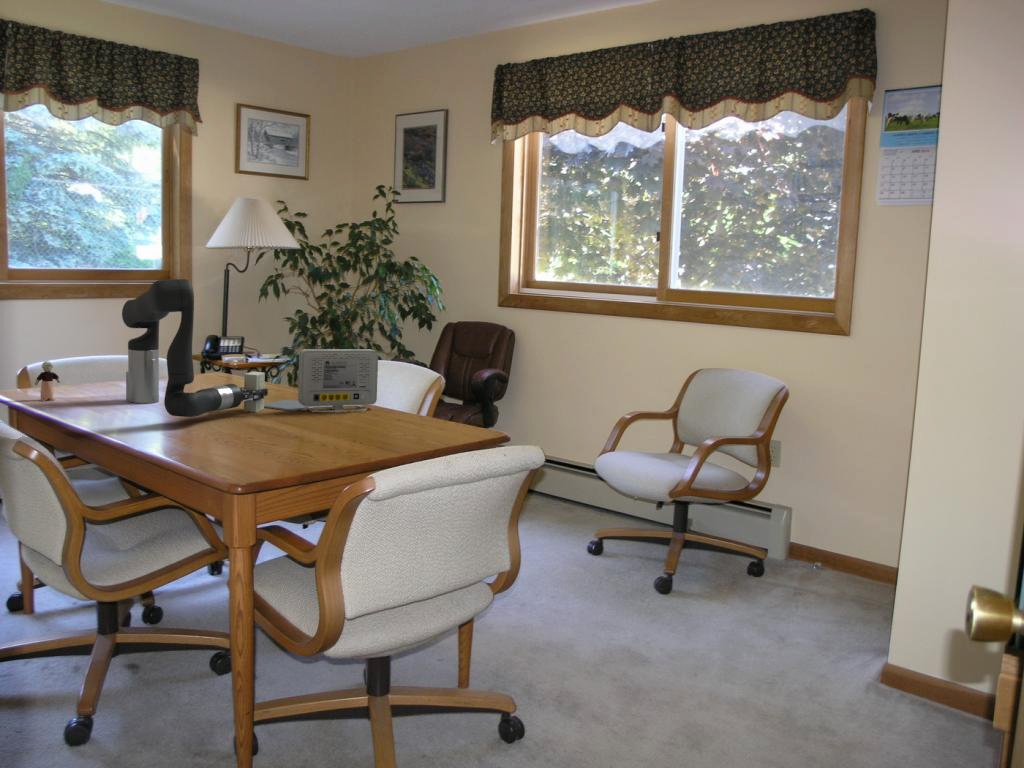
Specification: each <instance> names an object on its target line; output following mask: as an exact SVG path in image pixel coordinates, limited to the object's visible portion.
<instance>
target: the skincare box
mask: <svg viewBox="0 0 1024 768" xmlns="http://www.w3.org/2000/svg"><path fill="white" fill-rule="evenodd" d="M265 376H266V372H262V371H261V372H260V371H250V372H247V373H244V380H243V381H244V386H243V387H244V389H255V390H258V389H265V388H266V387H265V384H266V382H265V380H266V379H265ZM250 395H251V391H250ZM264 404H265V398H264V399H260V400H257V401H253V400H247V401H243V412H248V411H250V412H251V413H257V412H260V411H262V410H264V409H265V408H264Z"/></svg>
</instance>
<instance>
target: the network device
mask: <svg viewBox="0 0 1024 768" xmlns="http://www.w3.org/2000/svg"><path fill="white" fill-rule="evenodd" d="M378 367H379V353H378V352H377V351H376V350H373V349H371V348H370V349H368V348H367V349H359V348H358V349H356V348H355V349H354V348H353V349H351V348H349V349H345V348H343V349H339V348H337V349H334V348H333V349H329V348H328V349H326V348H325V349H324V348H323V349H320V348H319V349H315V348H314V349H313V348H312V349H309V348H308V349H306V348H305V349H301V350H299V353H298V386H297V387H298V390H297V391H298V393H297V396H298V397H297V398H298V399H297V401H299V403H300V404H302V405H303V406H314V407H309V408H308V409H309V410H310V411H309V410H308V409H307V410H308V411H309V412H311V411H312V412H311V413H314V412H335V413H337V412H336V411H363V410H367V411H368V408H367V407H366V406H365V405H375V404H376V403H377V400H378V371H379V368H378ZM343 407H355V409H354V408H353V409H347V408H343ZM357 407H360V408H357ZM313 408H323V409H325V410H318V409H313ZM330 408H333V409H334V410H333V409H330ZM356 408H357V409H356ZM361 408H362V409H361ZM326 409H327V410H326ZM363 412H364V411H363Z"/></svg>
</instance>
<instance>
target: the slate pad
mask: <svg viewBox="0 0 1024 768" xmlns="http://www.w3.org/2000/svg"><path fill="white" fill-rule="evenodd" d="M264 407H266V408H265V409H271V408H274V409H273V410H278V409H279V410H281V411H285V410H286V412H292V411H293V412H294V411H295V412H297V411H298V410H299V411H303V410H302V409H304V410H307V409H306V408H309V407H314V406H303V405H302V404H300V403H299V401H298V400H291V399H283V400H277V401H274V402H273V401H272V402H267V403H264ZM295 412H294V413H295Z"/></svg>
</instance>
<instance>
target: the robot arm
mask: <svg viewBox="0 0 1024 768" xmlns="http://www.w3.org/2000/svg"><path fill="white" fill-rule="evenodd" d="M194 293H195V292H194V288H193V285H192V283H191V282H190V280H189V279H185V278H184V279H183V278H175V279H173V278H171V279H159V280H156V281H154V282H153V283H152V284H151V285H150V287H149V288H148V290H146V291H144V292H143V293H142V294H140V295H139V296H138V297H135V298H134V299H128V300H127V301H125V303H124V304H123V305H122V306H123V307H122V310H121V318H122V321H123V324H125V326H126V327H127V328H130V329H146V331H145V332H144V333H142V335H139V336H138V337H134V338H131V339H130V340H128V342H127V359H128V360H127V362H128V363H127V364H128V370H127V371H126V373H125V394H126V397H125V398H126V401H127V402H129V403H132V402H133V404H151V403H158V402H160V373H159V372H160V369H159V368H160V365H159V361H160V358H159V355H160V354H159V347H160V345H159V343H160V321H161V320H162V319H164V318H166V317H167V316H168V315H169V314H170V313H178V312H180V313H181V315H180V316H181V317H180V324H179V327H178V329H177V332H176V334H175V336H173V337H174V338H173V339H172V341H171V343H170V345H169V347H168V350H167V354H166V367H167V383H166V388H165V389H166V390H165V392H164V398H163V399H164V401H163V403H164V408H165V410H166V412H167V413H168V414H169V415H170V416H171V417H172V416H173V417H183V418H184V417H185V418H192V417H193V418H195V417H199V416H201V415H204V414H206V413H208V412H209V413H210V412H211V413H212V412H215V411H216V412H217V411H218V412H219V411H225V410H229V409H234V408H237V407H239V406H240V405H241V403H242V402H244V401H247V400H253V401H257V400H260V399H264V400H265V397H267V396H268V394H269V393H268V391H269V390H268V388H264V389H258V390H255V389H244V386H238V385H237V384H235V383H228V384H222V385H216V386H215V385H214V386H212V387H206V388H202V389H199V390H197V391H195V392H184V391H185V386H186V385H190V384H192V383H193V382H194V381H195V379H194V378H195V374H194V373H195V372H194V360H193V334H194V321H195V320H194V318H195V317H194V316H195V314H194V313H195V294H194ZM250 391H251V395H250Z"/></svg>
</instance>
